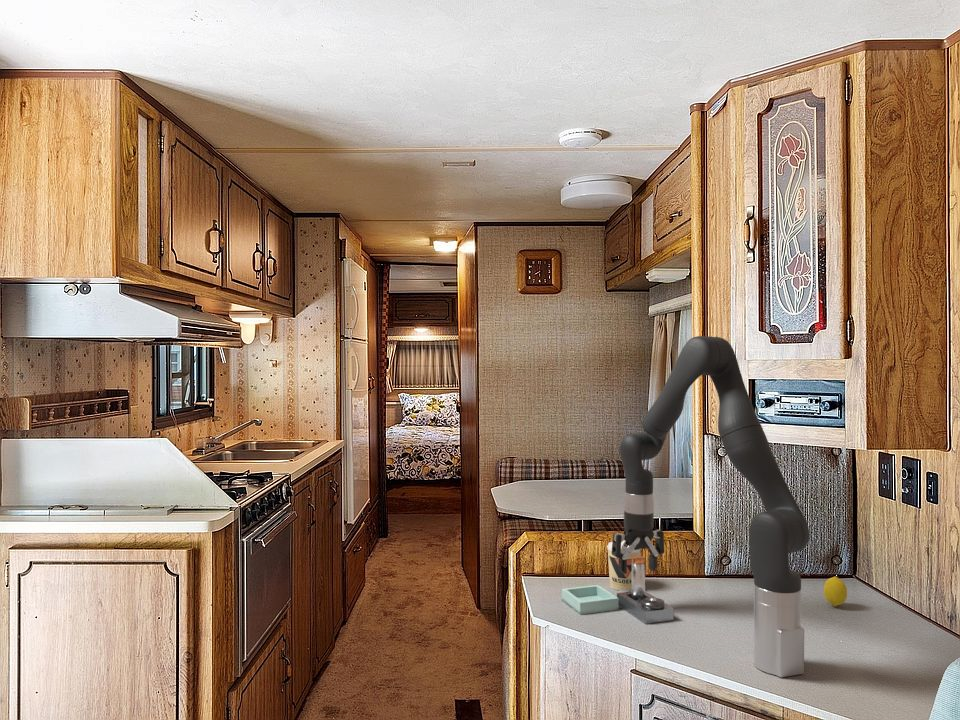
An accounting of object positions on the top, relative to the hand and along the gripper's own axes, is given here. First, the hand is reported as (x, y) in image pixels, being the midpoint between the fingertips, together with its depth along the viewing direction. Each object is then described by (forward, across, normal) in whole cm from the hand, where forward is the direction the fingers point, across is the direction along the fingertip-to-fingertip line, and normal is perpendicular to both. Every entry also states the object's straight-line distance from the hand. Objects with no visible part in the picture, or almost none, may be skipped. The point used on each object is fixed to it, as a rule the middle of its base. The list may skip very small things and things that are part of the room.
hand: (637, 571), depth 183 cm
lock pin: (+10, 0, 0) cm, 10 cm away
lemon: (+9, +50, -15) cm, 53 cm away
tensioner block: (+10, 0, -3) cm, 10 cm away
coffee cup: (+10, +5, +16) cm, 19 cm away
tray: (+10, -11, +6) cm, 16 cm away
